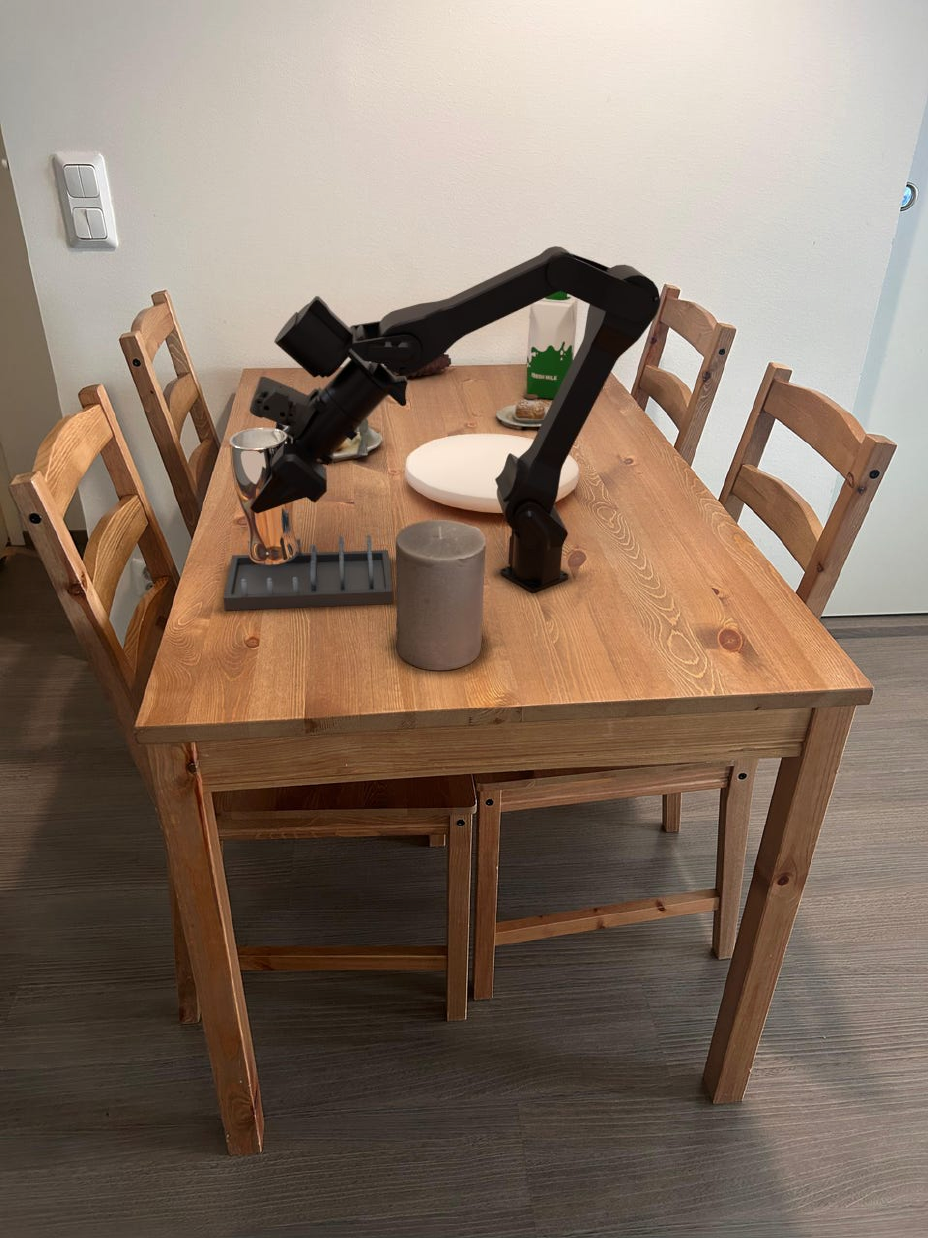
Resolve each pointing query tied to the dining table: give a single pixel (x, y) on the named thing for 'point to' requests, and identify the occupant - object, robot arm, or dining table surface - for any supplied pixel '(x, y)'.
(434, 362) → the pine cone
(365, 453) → the salad plate
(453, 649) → the pillar candle
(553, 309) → the green white milk carton
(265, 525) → the beer glass
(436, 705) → the dining table surface
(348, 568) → the rack
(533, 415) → the pastry
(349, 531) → the dining table surface
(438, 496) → the plate
